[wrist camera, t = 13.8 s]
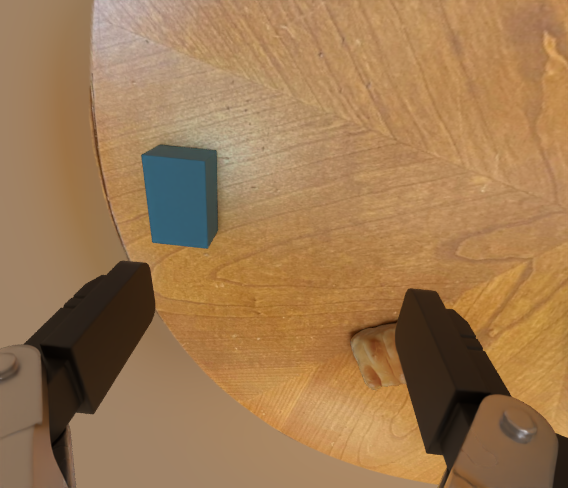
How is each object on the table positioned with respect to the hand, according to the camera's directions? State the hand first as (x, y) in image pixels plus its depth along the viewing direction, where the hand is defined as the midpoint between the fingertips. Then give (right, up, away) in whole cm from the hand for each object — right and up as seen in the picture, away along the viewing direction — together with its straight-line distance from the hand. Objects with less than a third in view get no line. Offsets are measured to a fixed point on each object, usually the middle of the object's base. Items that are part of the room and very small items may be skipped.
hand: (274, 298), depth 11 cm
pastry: (+11, -8, +23) cm, 27 cm away
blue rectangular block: (-7, +6, +17) cm, 20 cm away
